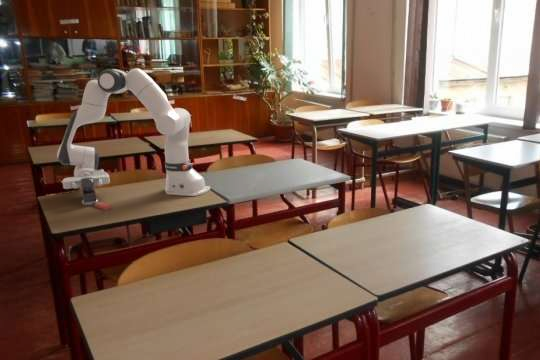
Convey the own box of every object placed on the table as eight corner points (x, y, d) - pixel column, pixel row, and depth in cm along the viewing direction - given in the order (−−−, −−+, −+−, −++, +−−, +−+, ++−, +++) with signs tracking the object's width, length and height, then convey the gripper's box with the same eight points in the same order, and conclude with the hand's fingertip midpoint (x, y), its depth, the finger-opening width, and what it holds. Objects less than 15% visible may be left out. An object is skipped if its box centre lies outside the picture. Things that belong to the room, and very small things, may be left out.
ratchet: (79, 204, 214) (77, 194, 212) (92, 199, 219) (91, 190, 218) (102, 211, 203) (100, 201, 202) (115, 206, 209) (114, 197, 208)
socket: (83, 199, 215) (80, 178, 212) (95, 197, 217) (92, 176, 214) (84, 202, 211) (81, 181, 208) (96, 201, 213) (93, 179, 210)
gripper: (60, 174, 219) (61, 181, 207) (106, 168, 227) (110, 175, 215) (62, 187, 220) (63, 195, 208) (108, 181, 229) (112, 188, 217)
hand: (87, 185), depth 212 cm, fingers open, 8 cm apart
